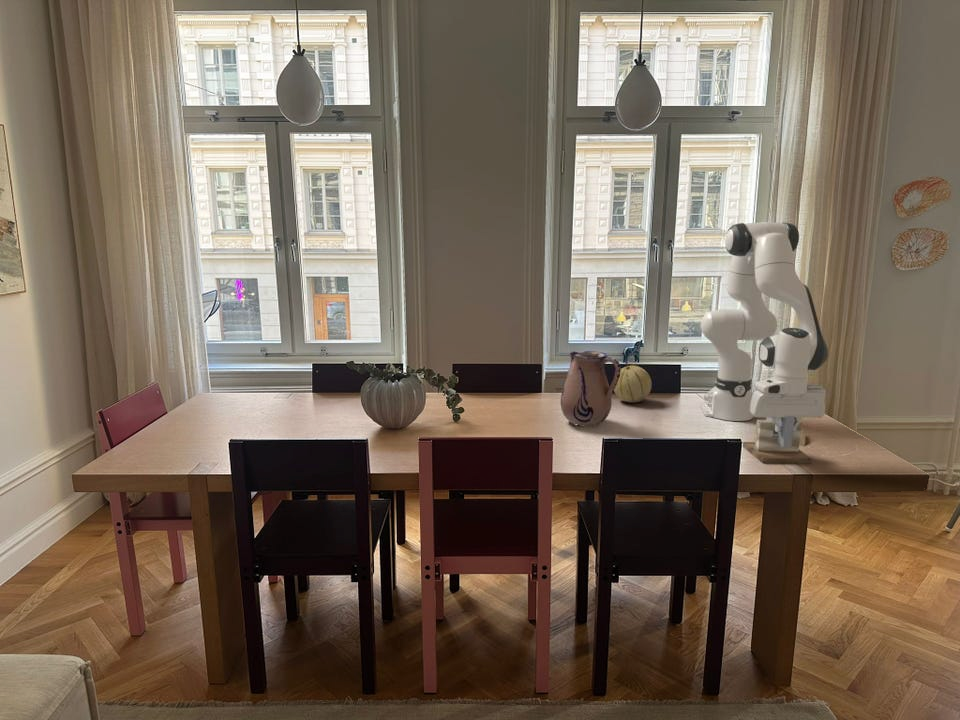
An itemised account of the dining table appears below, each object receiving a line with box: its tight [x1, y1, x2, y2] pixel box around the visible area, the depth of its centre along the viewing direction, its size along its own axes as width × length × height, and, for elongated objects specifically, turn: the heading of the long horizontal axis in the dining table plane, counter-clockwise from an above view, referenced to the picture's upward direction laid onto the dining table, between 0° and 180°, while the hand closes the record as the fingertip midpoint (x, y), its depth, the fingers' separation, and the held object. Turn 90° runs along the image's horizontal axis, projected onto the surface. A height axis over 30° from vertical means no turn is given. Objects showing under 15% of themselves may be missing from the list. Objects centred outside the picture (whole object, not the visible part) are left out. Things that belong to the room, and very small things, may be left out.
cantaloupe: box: [613, 365, 652, 403], centre depth 239 cm, size 15×15×15 cm
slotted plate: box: [765, 417, 795, 447], centre depth 181 cm, size 12×2×9 cm, turn 179°
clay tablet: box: [799, 431, 806, 447], centre depth 198 cm, size 14×10×3 cm
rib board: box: [742, 419, 813, 464], centre depth 182 cm, size 14×14×10 cm
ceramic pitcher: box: [560, 350, 622, 427], centre depth 210 cm, size 18×21×25 cm
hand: (785, 431), depth 177 cm, fingers closed on slotted plate, 2 cm apart
